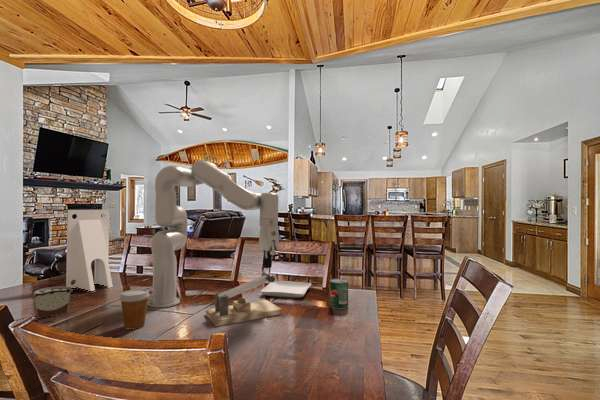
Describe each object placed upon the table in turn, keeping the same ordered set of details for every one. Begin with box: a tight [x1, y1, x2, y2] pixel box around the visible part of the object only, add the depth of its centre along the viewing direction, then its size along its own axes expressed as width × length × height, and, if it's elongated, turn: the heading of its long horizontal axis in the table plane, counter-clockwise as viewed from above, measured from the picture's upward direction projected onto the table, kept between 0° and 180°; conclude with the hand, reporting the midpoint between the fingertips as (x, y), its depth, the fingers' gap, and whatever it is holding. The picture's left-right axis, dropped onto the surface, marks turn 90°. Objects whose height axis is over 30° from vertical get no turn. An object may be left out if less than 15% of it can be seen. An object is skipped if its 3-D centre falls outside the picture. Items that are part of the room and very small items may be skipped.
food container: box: [32, 285, 73, 319], centre depth 126 cm, size 12×6×10 cm, turn 134°
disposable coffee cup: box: [119, 288, 151, 330], centre depth 114 cm, size 10×10×12 cm
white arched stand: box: [65, 209, 114, 292], centre depth 167 cm, size 20×14×40 cm
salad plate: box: [260, 280, 312, 299], centre depth 160 cm, size 21×21×3 cm
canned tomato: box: [329, 278, 349, 310], centre depth 139 cm, size 8×8×11 cm
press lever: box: [218, 272, 276, 300], centre depth 128 cm, size 23×8×2 cm, turn 121°
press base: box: [205, 291, 283, 327], centre depth 127 cm, size 26×14×9 cm, turn 121°
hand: (267, 267), depth 133 cm, fingers closed
